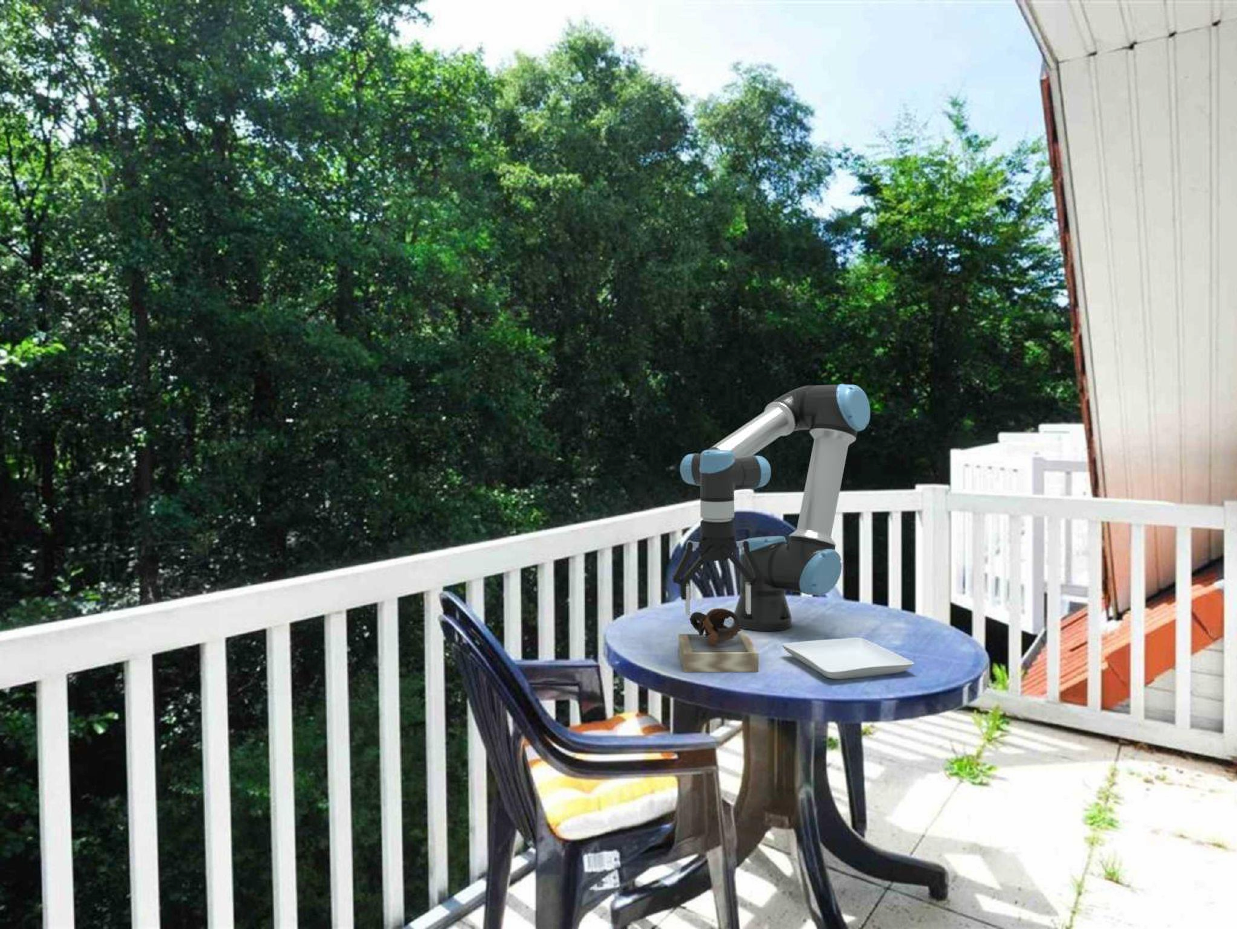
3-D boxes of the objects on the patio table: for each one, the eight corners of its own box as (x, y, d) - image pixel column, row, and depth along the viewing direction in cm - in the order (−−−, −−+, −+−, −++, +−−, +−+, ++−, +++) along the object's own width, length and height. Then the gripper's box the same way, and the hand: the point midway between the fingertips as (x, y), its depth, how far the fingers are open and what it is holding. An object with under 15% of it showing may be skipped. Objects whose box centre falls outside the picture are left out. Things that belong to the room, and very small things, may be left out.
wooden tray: (746, 650, 195) (746, 632, 195) (758, 671, 179) (758, 652, 179) (678, 650, 195) (678, 633, 195) (684, 671, 179) (684, 652, 179)
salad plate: (917, 677, 176) (917, 661, 176) (828, 687, 170) (828, 670, 170) (860, 650, 197) (861, 635, 197) (779, 658, 191) (779, 643, 190)
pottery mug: (742, 638, 192) (747, 612, 188) (729, 665, 185) (734, 639, 180) (693, 620, 196) (697, 594, 192) (679, 647, 189) (682, 620, 184)
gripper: (770, 516, 189) (770, 607, 191) (660, 517, 189) (661, 609, 191) (776, 520, 182) (776, 616, 183) (662, 522, 182) (663, 618, 183)
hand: (717, 613), depth 187 cm, fingers open, 13 cm apart
